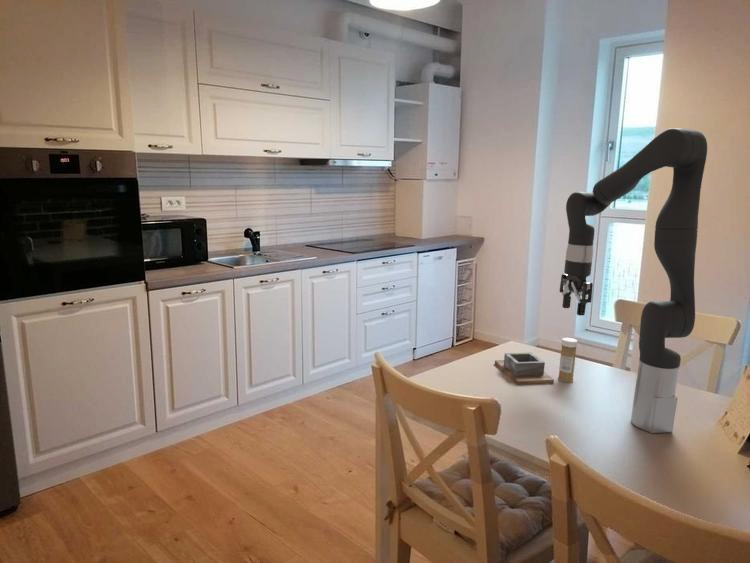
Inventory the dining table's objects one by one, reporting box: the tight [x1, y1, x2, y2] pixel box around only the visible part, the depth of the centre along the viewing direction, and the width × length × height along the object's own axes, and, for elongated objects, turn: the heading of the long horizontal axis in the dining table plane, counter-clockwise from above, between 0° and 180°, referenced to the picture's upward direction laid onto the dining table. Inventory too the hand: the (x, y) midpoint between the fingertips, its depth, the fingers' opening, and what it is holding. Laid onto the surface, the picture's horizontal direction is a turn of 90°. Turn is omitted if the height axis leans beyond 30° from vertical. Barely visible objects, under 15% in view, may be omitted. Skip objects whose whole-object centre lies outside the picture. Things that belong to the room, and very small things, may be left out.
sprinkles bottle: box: [557, 337, 578, 383], centre depth 169 cm, size 5×5×14 cm
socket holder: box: [494, 352, 555, 386], centre depth 175 cm, size 18×12×5 cm, turn 10°
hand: (573, 311), depth 166 cm, fingers open, 8 cm apart
